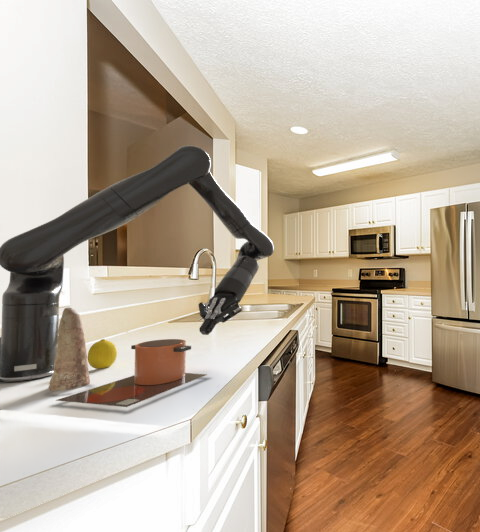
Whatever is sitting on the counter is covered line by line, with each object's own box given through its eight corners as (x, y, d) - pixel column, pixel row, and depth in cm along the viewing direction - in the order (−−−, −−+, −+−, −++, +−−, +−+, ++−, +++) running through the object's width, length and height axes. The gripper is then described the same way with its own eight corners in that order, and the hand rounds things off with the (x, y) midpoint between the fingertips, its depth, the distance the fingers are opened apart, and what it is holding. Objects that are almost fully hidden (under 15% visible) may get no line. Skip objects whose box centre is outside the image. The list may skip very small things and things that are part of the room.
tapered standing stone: (41, 399, 69) (72, 399, 69) (33, 312, 66) (65, 313, 67) (69, 384, 75) (98, 384, 75) (63, 304, 72) (93, 305, 73)
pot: (115, 383, 73) (116, 345, 74) (154, 370, 83) (154, 337, 83) (168, 387, 71) (168, 348, 71) (201, 374, 80) (202, 340, 81)
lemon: (99, 375, 82) (100, 341, 82) (81, 373, 83) (82, 340, 84) (122, 368, 88) (122, 337, 88) (104, 367, 89) (105, 336, 89)
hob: (53, 405, 63) (54, 399, 64) (149, 374, 83) (150, 369, 83) (126, 412, 61) (126, 406, 61) (207, 378, 80) (208, 374, 80)
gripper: (208, 276, 101) (173, 323, 88) (249, 276, 98) (219, 325, 86) (220, 293, 106) (189, 340, 94) (259, 293, 104) (232, 342, 91)
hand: (203, 333), depth 90 cm, fingers closed
